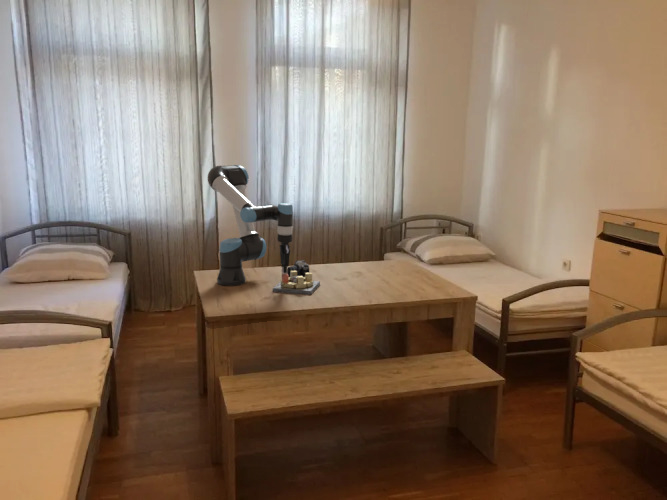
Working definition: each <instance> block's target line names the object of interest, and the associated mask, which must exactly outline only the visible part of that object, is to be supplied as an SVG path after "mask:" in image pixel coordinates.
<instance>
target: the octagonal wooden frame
mask: <svg viewBox="0 0 667 500" xmlns="http://www.w3.org/2000/svg"><path fill="white" fill-rule="evenodd" d="M292 276H297V271H296V270H295V271H290V277H289V275H288V274H282V273H281V279H280V282H281V285H282V286H283V287H288V288H306V287H310V286H312V285H313V281H314V280H313V273H312V272H310V271H309V273H305V277H303V276H297V283H293V282H291V277H292Z"/></svg>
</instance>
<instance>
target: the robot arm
mask: <svg viewBox="0 0 667 500" xmlns="http://www.w3.org/2000/svg"><path fill="white" fill-rule="evenodd" d="M207 183H208V184H209V187H210V188H211V189H212V190H213V191H215V192H218V193H219V194H220V195H221V196H222V197H223V198H224V199H225V200H227V202H229V203H230V204H231V205H232V208H233V212H234V215H235V221H236V226H237V227H238V233H239V237H231V238H226V239H223V240H222V241H220V243H219V272H218V275H217V278H216V283H217V284H218V285H219V286H228V287H232V286H240V285H244V284H245V283H246V282H247V281H246V276H245V272H244V270H243V262H249V261H256V260H259V259H263V258H264V256H265V255H266V252H267V243H266V240H265V239H264V238H263V237H260V234H259V232H258V231H256V230H255V225H254V223H255V222H257V223H258V222H265V221H275V222H277V233H278V234H277V242H279V243H280V244H279V249H280V250H279V251H280V252H279V253H280V264H281V266H280V267H281V275H282V274H287V269H288V267H290V266H289V265H290V264H289V263H290V254H291V249H290V244H289V243H291V242H293V230H294V226H293V220H294V219H293V215H294V210H293V207H294V206H293V204H291V203H287V202H283V203H282V202H281V203H278V205H274V204H266V203H265V204H264V205H261V206H255V204H253V203H252V202H251V201H250V200H249V199H248V198H247V197H248V196H247V193H246V189H247V185H248V183H249V173H248V171H247V169H246V168H245V167H244V166H242V165H239V164H231V165H229V164H228V165H216V166H214V167H212V168H211V169H210V170H209V172H208V174H207Z"/></svg>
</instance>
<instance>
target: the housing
mask: <svg viewBox="0 0 667 500" xmlns="http://www.w3.org/2000/svg"><path fill="white" fill-rule="evenodd" d="M291 282H293V283H297V276H292V277H291ZM319 286H321V281H319V280H313V285H312V286H310V287H306V288H288V287H283V286H282V285H281V281H280V282H278V283H276V285H275V286H273V287H272V292H273V293H281V294H282V293H285V294H293V295H294V294H296V295H312V294H313V293H314V292H315V291H316V290H317V289H318V287H319Z"/></svg>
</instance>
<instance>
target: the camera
mask: <svg viewBox="0 0 667 500" xmlns="http://www.w3.org/2000/svg"><path fill="white" fill-rule="evenodd" d="M295 270H296V271H297V276H303V277H305V273H310V266H309V263H306V261H305V260H304V259H301V260H296V261H294V265H291V266H288V267H287V274H288V275H289V277H290V271H295Z"/></svg>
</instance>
